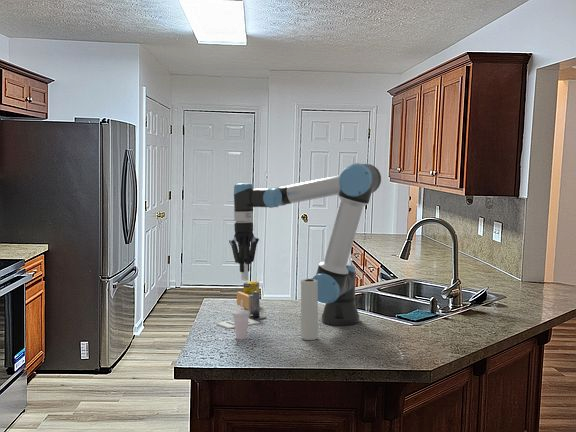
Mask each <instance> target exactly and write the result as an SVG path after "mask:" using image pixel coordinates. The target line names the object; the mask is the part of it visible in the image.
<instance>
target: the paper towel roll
mask: <svg viewBox="0 0 576 432" xmlns="http://www.w3.org/2000/svg"><path fill="white" fill-rule="evenodd" d="M318 303H319V302H318V281H317V280H315V279H312V278H307V279H301V280H300V337H301V338H300V339H302V340H306V341H314V340H318V335H319V334H318V333H319V331H318V330H319V329H318V327H319V326H318V322H319V321H318V320H319V319H318V318H319V317H318V316H319V313H318V312H319V310H318V309H319V308H318V307H319V304H318Z"/></svg>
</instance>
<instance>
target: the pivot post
mask: <svg viewBox="0 0 576 432" xmlns="http://www.w3.org/2000/svg"><path fill="white" fill-rule="evenodd" d="M260 303H261V302H260V290H259V291H253V315H249V319H252V320H255V321H261V320H266V319H267V316H264V315H261V314H260V313H261V312H260V307H261V306H260Z"/></svg>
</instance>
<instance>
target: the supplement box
mask: <svg viewBox="0 0 576 432" xmlns="http://www.w3.org/2000/svg"><path fill="white" fill-rule="evenodd" d="M242 286H243V293H245V294H247V295H253V291H259V292H260V281H250V280H246V281H245V282H244V283H243V285H242Z"/></svg>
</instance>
